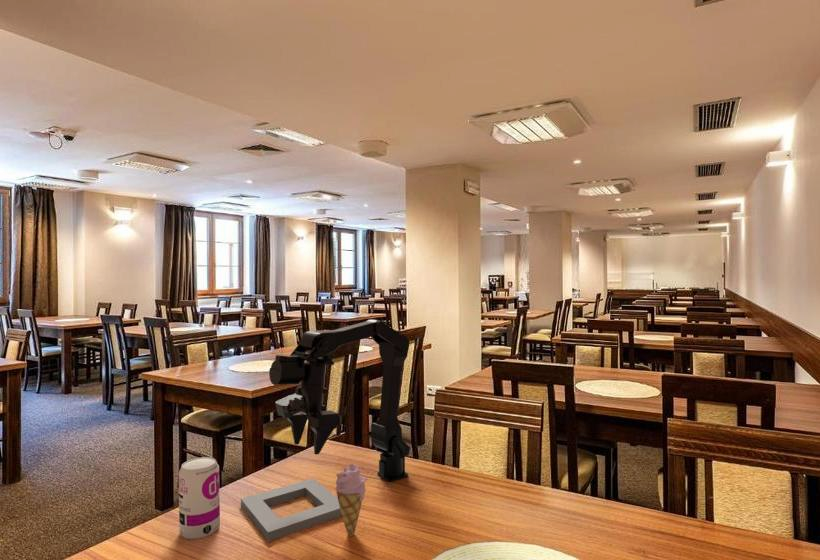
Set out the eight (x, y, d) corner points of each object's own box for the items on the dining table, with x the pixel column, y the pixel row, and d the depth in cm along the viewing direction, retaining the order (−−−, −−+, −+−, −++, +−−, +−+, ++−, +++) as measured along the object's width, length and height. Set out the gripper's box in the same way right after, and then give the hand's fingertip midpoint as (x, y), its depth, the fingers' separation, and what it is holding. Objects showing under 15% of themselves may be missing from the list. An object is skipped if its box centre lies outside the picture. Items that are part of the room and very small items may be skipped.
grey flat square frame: (313, 485, 128) (313, 478, 128) (347, 514, 113) (347, 505, 113) (240, 506, 117) (240, 498, 117) (268, 541, 102) (267, 532, 102)
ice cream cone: (370, 527, 107) (369, 460, 106) (364, 543, 100) (363, 472, 100) (340, 526, 107) (339, 459, 107) (333, 542, 101) (332, 471, 101)
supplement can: (228, 524, 109) (226, 458, 109) (201, 543, 101) (199, 472, 101) (199, 518, 112) (198, 454, 111) (171, 537, 104) (169, 468, 104)
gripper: (263, 378, 118) (257, 443, 117) (303, 391, 104) (296, 465, 103) (303, 377, 125) (298, 438, 124) (345, 389, 112) (339, 457, 111)
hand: (306, 449), depth 115 cm, fingers open, 9 cm apart
